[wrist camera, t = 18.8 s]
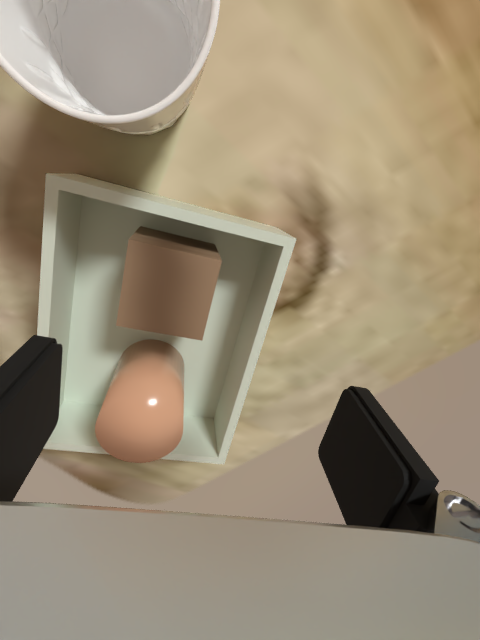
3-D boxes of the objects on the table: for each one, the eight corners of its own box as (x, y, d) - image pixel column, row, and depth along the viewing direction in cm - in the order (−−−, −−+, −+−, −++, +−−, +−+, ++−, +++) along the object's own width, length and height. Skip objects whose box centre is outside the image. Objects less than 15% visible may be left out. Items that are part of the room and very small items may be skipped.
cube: (214, 244, 23) (221, 260, 19) (199, 310, 25) (202, 340, 20) (140, 226, 22) (128, 239, 17) (129, 296, 24) (116, 325, 19)
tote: (275, 226, 24) (296, 238, 19) (218, 420, 30) (224, 464, 25) (76, 173, 21) (45, 173, 16) (57, 401, 27) (30, 447, 22)
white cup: (215, 136, 21) (236, 107, 12) (87, 154, 20) (8, 138, 11) (190, -30, 18) (194, -244, 9) (38, -15, 17) (-128, -228, 8)
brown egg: (179, 397, 27) (176, 464, 21) (116, 391, 26) (92, 460, 20) (189, 343, 26) (189, 399, 19) (121, 335, 25) (97, 390, 18)
